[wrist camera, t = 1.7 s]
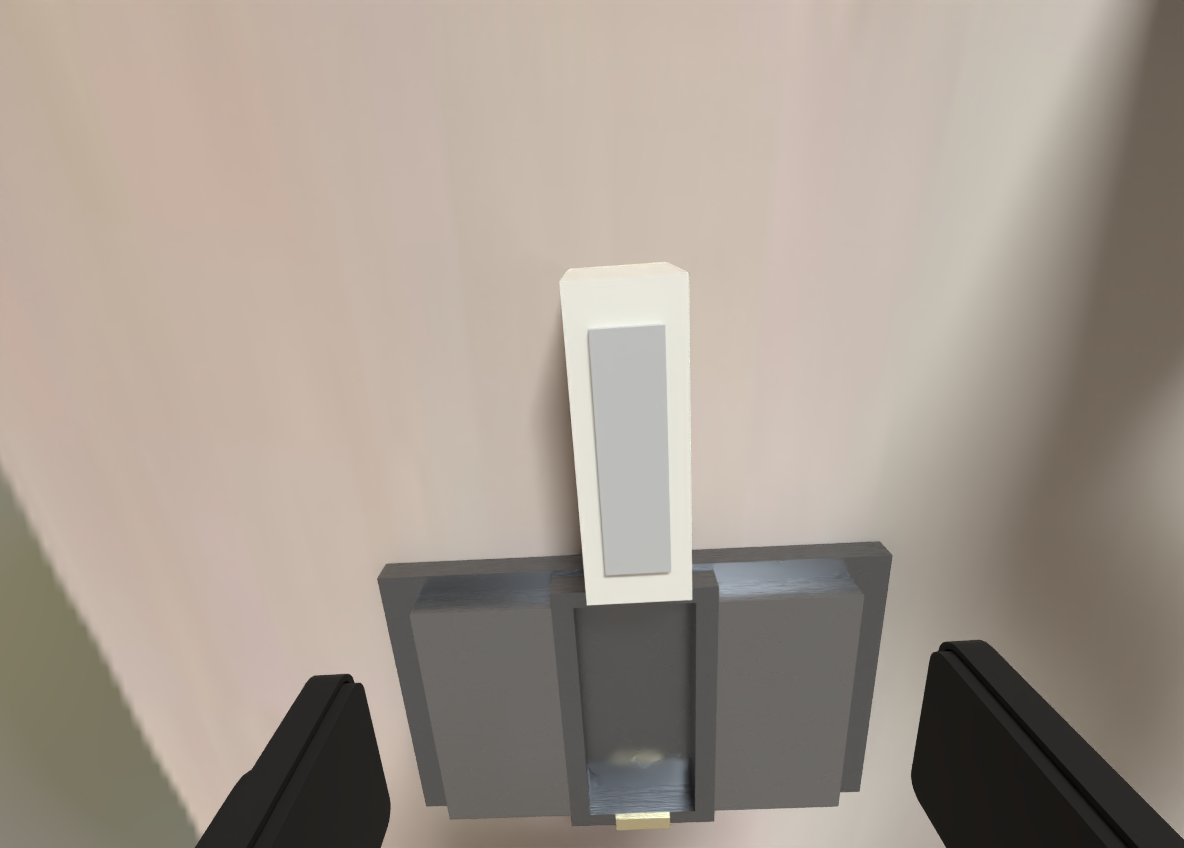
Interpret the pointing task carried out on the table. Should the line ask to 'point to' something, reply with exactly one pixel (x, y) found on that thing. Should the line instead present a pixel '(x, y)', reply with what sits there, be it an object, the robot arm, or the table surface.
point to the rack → (639, 684)
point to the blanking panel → (631, 428)
